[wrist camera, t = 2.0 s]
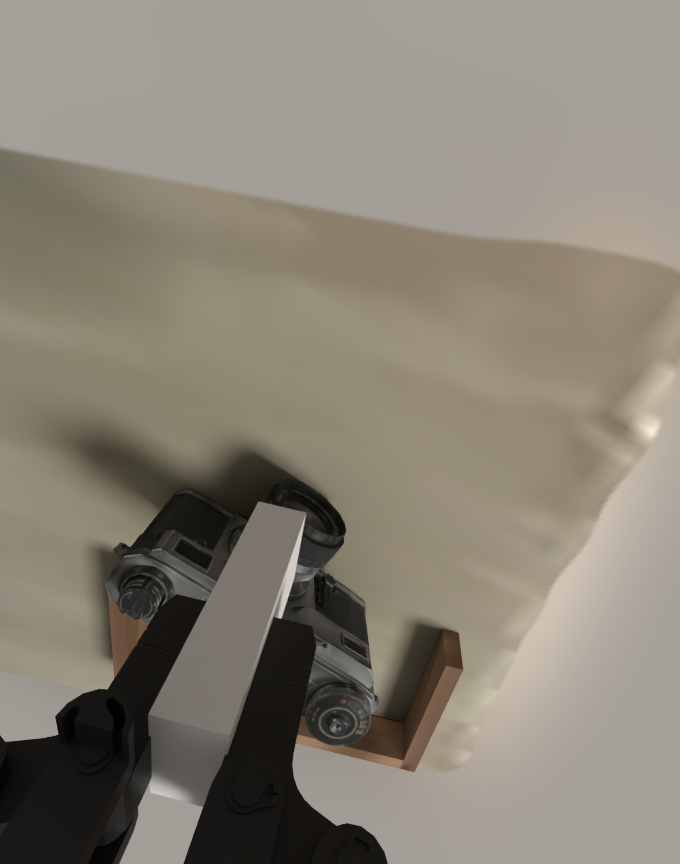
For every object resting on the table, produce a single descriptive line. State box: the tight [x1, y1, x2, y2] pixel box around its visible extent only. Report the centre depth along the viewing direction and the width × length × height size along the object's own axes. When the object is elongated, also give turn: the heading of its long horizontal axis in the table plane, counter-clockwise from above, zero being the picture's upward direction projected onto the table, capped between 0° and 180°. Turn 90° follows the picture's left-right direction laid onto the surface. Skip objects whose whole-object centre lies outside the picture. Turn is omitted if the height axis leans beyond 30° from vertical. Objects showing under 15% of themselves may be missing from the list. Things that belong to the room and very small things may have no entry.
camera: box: [105, 480, 379, 746], centre depth 28 cm, size 18×9×10 cm, turn 55°
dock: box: [108, 595, 463, 772], centre depth 36 cm, size 25×13×4 cm, turn 79°
